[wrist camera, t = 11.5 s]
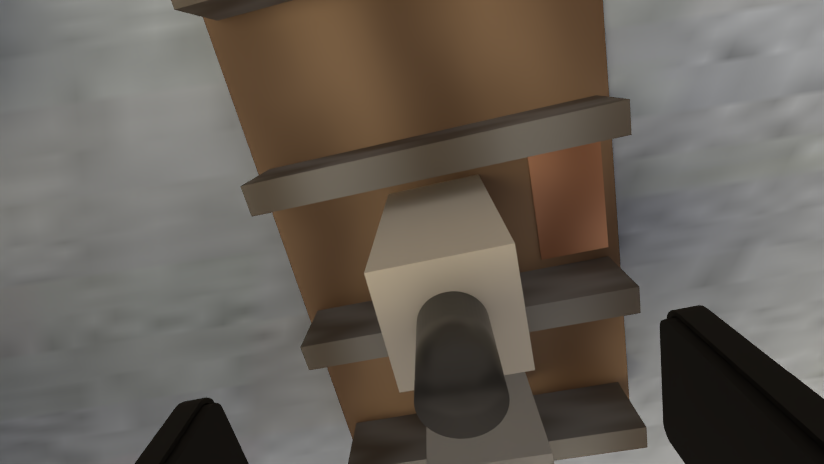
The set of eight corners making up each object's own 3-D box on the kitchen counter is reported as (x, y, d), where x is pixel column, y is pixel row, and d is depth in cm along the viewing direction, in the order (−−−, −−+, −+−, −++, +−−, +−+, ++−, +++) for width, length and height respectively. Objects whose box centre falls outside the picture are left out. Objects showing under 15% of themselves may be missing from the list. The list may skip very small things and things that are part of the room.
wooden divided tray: (357, 425, 25) (344, 491, 21) (207, -8, 17) (143, -32, 13) (619, 384, 23) (658, 447, 19) (582, -112, 16) (634, -174, 12)
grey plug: (442, 394, 22) (456, 665, 12) (426, 330, 21) (426, 573, 11) (517, 382, 22) (598, 651, 12) (506, 316, 21) (586, 555, 10)
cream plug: (388, 193, 19) (343, 339, 8) (478, 174, 18) (546, 301, 8) (409, 274, 20) (391, 484, 10) (493, 257, 20) (568, 458, 9)
